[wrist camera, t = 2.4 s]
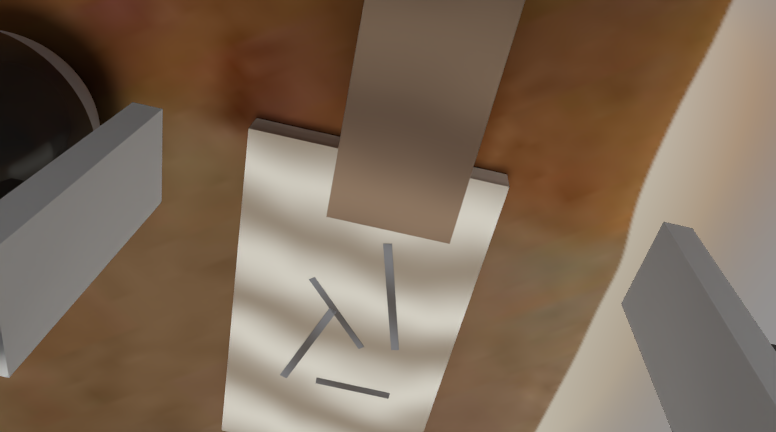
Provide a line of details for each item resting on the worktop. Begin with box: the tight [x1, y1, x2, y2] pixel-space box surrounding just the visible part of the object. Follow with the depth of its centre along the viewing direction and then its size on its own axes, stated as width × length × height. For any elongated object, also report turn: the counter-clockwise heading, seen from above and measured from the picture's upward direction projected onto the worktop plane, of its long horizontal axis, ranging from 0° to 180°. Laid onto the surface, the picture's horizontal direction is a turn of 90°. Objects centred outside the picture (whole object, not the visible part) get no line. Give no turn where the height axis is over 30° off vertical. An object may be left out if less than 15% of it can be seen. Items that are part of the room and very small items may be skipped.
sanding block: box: [326, 0, 525, 244], centre depth 26 cm, size 10×5×10 cm, turn 168°
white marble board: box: [222, 118, 509, 432], centre depth 38 cm, size 24×14×2 cm, turn 168°
